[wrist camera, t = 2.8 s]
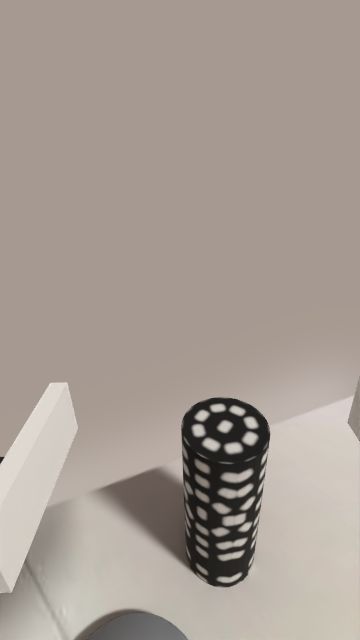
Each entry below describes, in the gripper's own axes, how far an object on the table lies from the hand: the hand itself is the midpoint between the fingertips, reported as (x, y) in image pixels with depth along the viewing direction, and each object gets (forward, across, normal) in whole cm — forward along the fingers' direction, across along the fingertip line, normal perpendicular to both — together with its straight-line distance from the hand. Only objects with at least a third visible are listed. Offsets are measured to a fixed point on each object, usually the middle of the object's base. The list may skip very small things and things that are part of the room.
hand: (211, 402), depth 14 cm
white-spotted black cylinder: (+11, +2, -33) cm, 35 cm away
